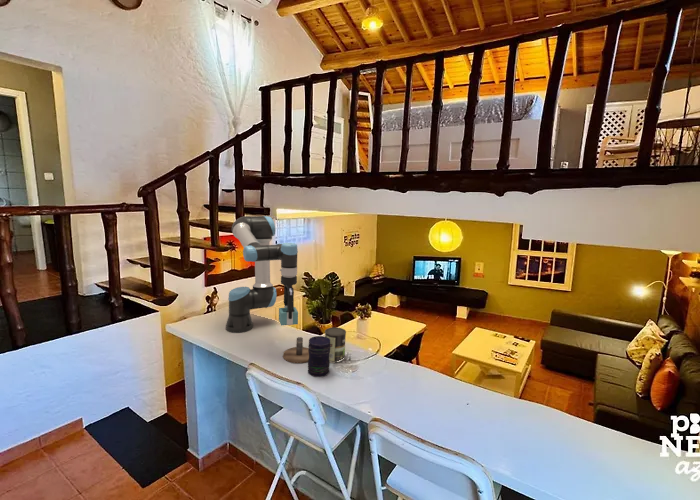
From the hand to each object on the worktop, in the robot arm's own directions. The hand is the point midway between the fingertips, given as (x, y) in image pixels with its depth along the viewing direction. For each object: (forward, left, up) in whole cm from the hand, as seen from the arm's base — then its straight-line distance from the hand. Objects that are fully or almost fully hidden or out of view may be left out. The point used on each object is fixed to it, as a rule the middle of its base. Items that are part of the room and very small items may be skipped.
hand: (288, 321), depth 172 cm
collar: (0, 0, 0) cm, 0 cm away
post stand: (+1, +6, -18) cm, 19 cm away
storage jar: (+18, +11, -18) cm, 28 cm away
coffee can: (+8, +22, -18) cm, 29 cm away
